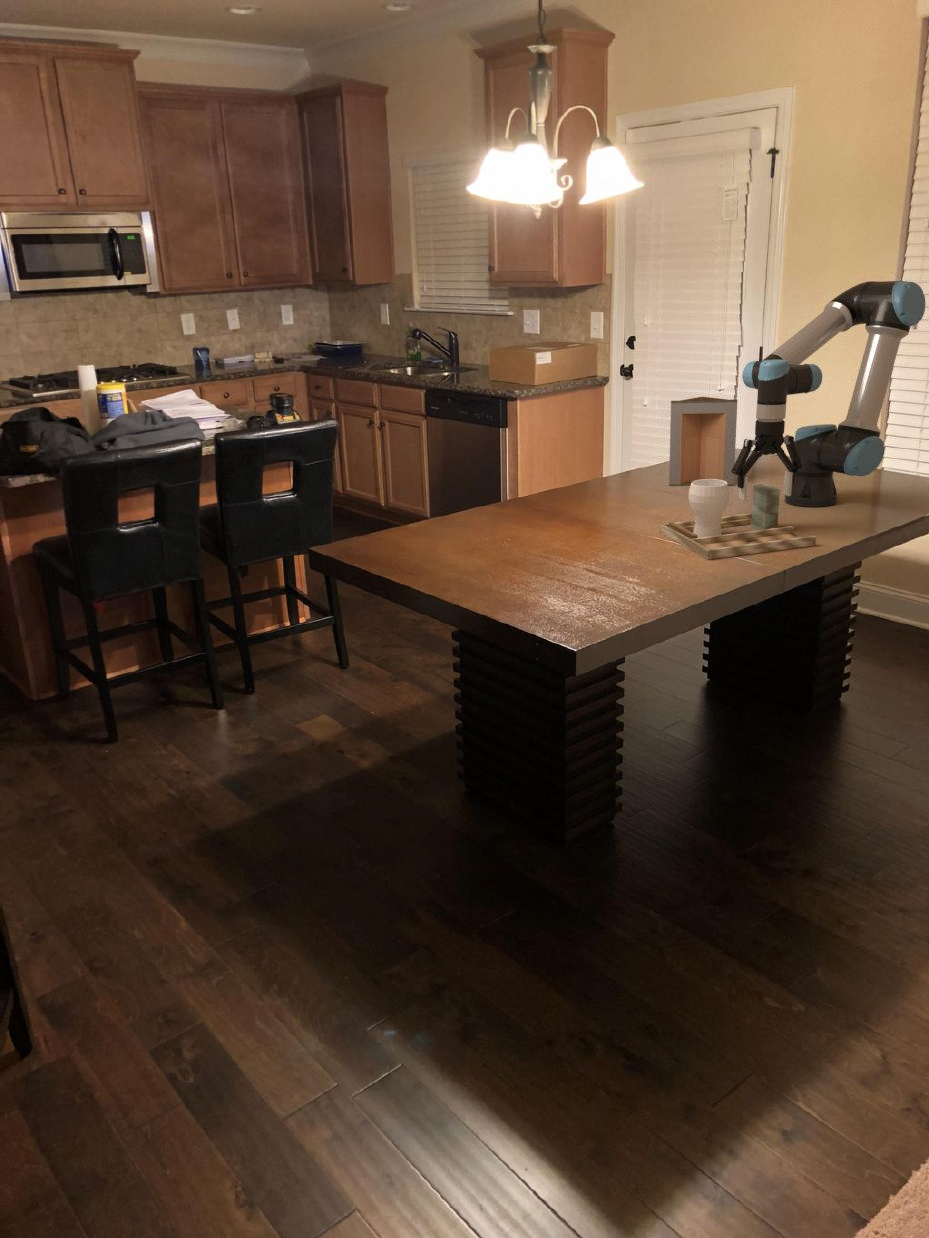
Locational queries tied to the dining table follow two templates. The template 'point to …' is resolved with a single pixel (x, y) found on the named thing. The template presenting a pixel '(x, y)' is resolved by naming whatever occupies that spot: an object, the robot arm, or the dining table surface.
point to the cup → (708, 505)
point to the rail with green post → (762, 512)
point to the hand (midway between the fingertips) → (764, 497)
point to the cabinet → (702, 440)
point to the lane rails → (738, 540)
